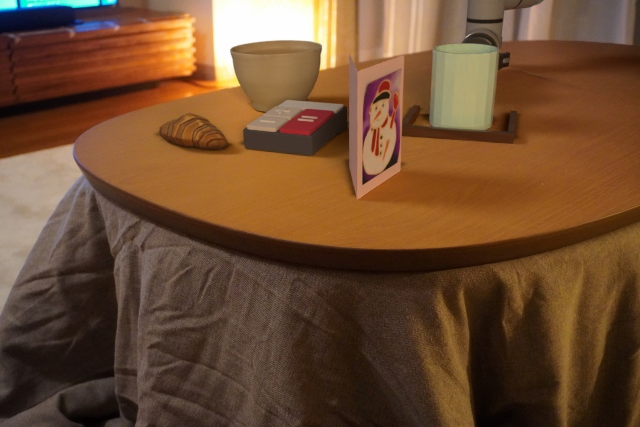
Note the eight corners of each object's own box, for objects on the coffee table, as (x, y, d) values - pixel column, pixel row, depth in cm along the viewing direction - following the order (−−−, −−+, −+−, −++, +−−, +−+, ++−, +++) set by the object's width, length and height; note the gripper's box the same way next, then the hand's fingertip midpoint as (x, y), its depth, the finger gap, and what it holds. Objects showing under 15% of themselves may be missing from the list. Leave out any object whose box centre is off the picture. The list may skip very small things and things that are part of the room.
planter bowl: (311, 94, 122) (310, 37, 118) (332, 114, 108) (332, 50, 103) (230, 100, 119) (225, 42, 114) (240, 122, 104) (235, 56, 100)
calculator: (241, 124, 90) (285, 96, 102) (243, 152, 92) (287, 121, 104) (310, 131, 86) (348, 101, 98) (312, 160, 88) (348, 127, 100)
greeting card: (363, 201, 72) (364, 72, 66) (310, 189, 76) (307, 66, 70) (406, 171, 81) (410, 55, 75) (356, 162, 85) (357, 50, 79)
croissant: (145, 143, 95) (140, 111, 93) (178, 132, 100) (174, 102, 98) (208, 159, 87) (205, 124, 85) (241, 146, 92) (238, 113, 90)
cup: (505, 127, 98) (513, 50, 93) (450, 135, 95) (455, 56, 90) (469, 112, 107) (474, 41, 102) (417, 119, 104) (420, 46, 99)
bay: (413, 113, 107) (414, 104, 107) (516, 119, 102) (517, 110, 102) (398, 135, 96) (399, 126, 95) (513, 143, 91) (514, 133, 90)
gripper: (510, 72, 123) (504, 100, 102) (444, 69, 127) (424, 95, 106) (515, 32, 120) (509, 53, 99) (446, 31, 124) (427, 51, 103)
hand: (465, 75), depth 103 cm, fingers closed
